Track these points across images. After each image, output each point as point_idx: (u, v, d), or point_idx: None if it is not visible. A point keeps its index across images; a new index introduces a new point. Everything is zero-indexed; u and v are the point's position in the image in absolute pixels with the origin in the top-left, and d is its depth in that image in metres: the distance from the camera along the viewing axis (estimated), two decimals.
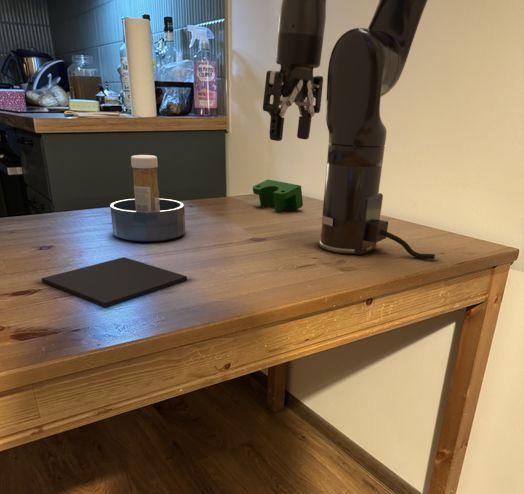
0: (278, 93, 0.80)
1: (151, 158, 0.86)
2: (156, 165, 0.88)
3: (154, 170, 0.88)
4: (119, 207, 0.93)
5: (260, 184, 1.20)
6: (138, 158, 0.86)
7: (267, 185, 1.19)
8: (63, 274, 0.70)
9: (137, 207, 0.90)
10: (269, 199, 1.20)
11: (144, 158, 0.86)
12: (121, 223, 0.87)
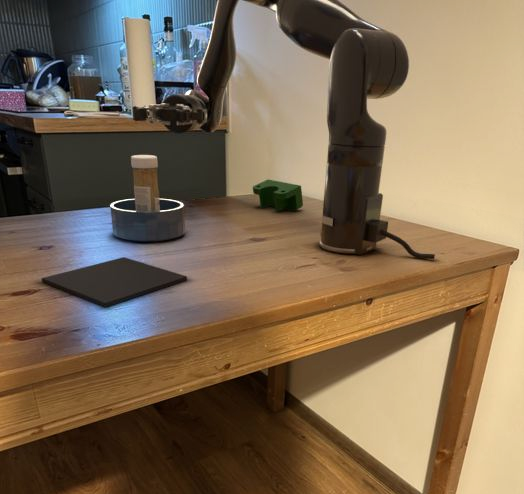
0: None
1: (151, 158, 0.86)
2: (156, 165, 0.88)
3: (154, 170, 0.88)
4: (119, 207, 0.93)
5: (260, 184, 1.20)
6: (138, 158, 0.86)
7: (267, 185, 1.19)
8: (63, 274, 0.70)
9: (137, 207, 0.90)
10: (269, 199, 1.20)
11: (144, 158, 0.86)
12: (121, 223, 0.87)
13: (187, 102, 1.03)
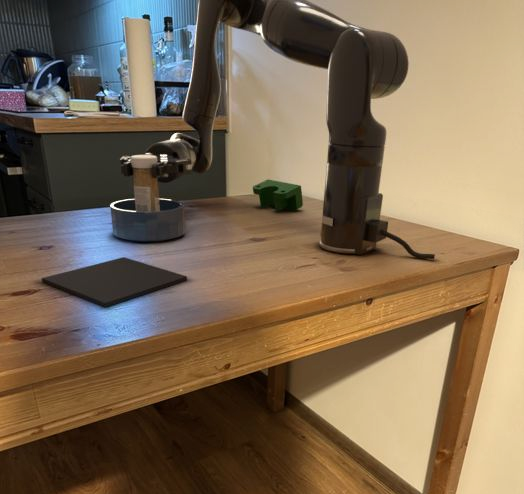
0: (123, 158, 0.93)
1: (151, 158, 0.86)
2: None
3: None
4: (119, 207, 0.93)
5: (260, 184, 1.20)
6: (138, 158, 0.86)
7: (267, 185, 1.19)
8: (63, 274, 0.70)
9: (137, 207, 0.90)
10: (269, 199, 1.20)
11: (144, 158, 0.86)
12: (121, 223, 0.87)
13: (173, 151, 0.96)
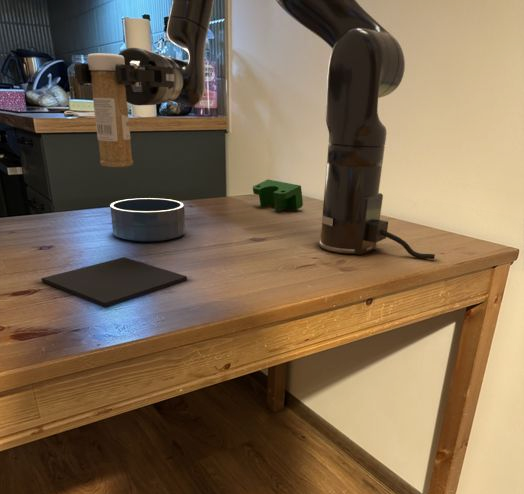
0: None
1: (115, 56, 0.62)
2: None
3: None
4: (119, 207, 0.93)
5: (260, 184, 1.20)
6: (96, 55, 0.62)
7: (267, 185, 1.19)
8: (63, 274, 0.70)
9: (98, 128, 0.66)
10: (269, 199, 1.20)
11: (105, 55, 0.62)
12: (121, 223, 0.87)
13: (149, 59, 0.72)
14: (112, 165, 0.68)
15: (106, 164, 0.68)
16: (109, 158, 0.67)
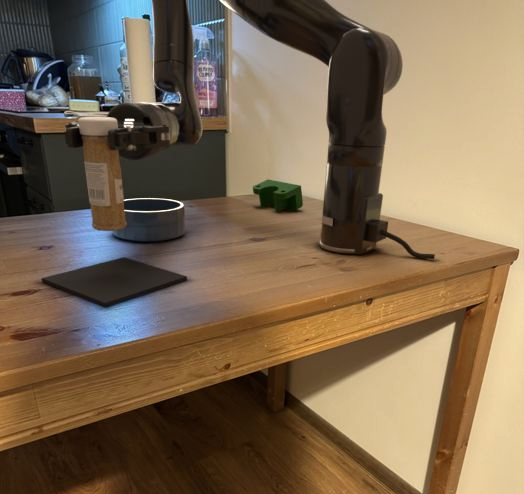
0: (72, 123, 0.65)
1: (107, 120, 0.59)
2: None
3: None
4: None
5: (260, 184, 1.20)
6: (88, 120, 0.59)
7: (267, 185, 1.19)
8: (63, 274, 0.70)
9: (90, 193, 0.63)
10: (269, 199, 1.20)
11: (96, 120, 0.59)
12: None
13: (144, 115, 0.69)
14: (105, 229, 0.65)
15: (98, 228, 0.65)
16: (102, 223, 0.64)
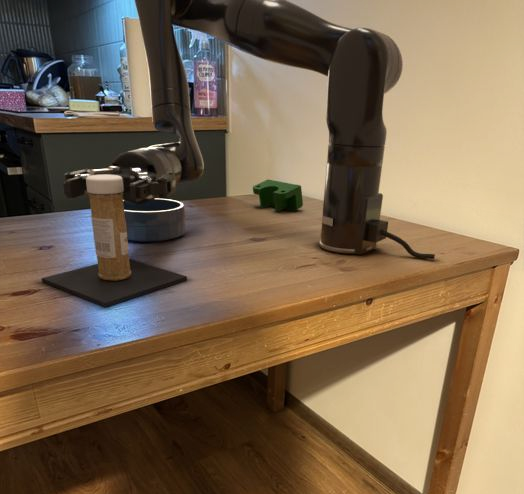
0: (76, 171, 0.69)
1: (113, 180, 0.62)
2: (120, 190, 0.64)
3: (118, 196, 0.64)
4: None
5: (260, 184, 1.20)
6: (95, 180, 0.62)
7: (267, 185, 1.19)
8: (63, 274, 0.70)
9: (96, 245, 0.66)
10: (269, 199, 1.20)
11: (103, 180, 0.62)
12: None
13: (147, 163, 0.71)
14: (110, 279, 0.68)
15: (104, 278, 0.68)
16: (107, 273, 0.67)
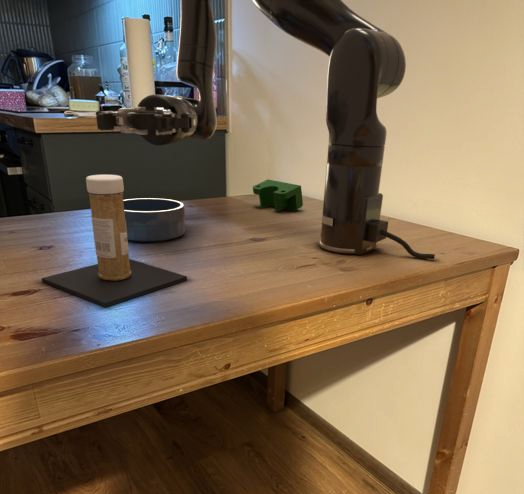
0: None
1: (113, 180, 0.62)
2: (121, 190, 0.64)
3: (118, 196, 0.64)
4: None
5: (260, 184, 1.20)
6: (95, 180, 0.62)
7: (267, 185, 1.19)
8: (63, 274, 0.70)
9: (96, 245, 0.66)
10: (269, 199, 1.20)
11: (103, 180, 0.62)
12: None
13: (169, 105, 0.79)
14: (110, 279, 0.68)
15: (104, 278, 0.68)
16: (107, 273, 0.67)
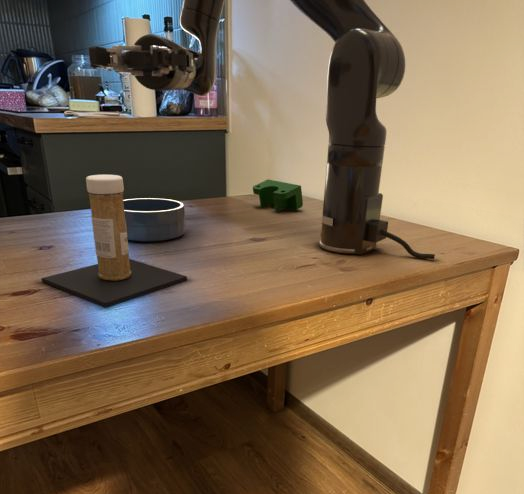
0: None
1: (113, 180, 0.62)
2: (121, 190, 0.64)
3: (118, 196, 0.64)
4: None
5: (260, 184, 1.20)
6: (95, 180, 0.62)
7: (267, 185, 1.19)
8: (63, 274, 0.70)
9: (96, 245, 0.66)
10: (269, 199, 1.20)
11: (103, 180, 0.62)
12: None
13: (166, 45, 0.75)
14: (110, 279, 0.68)
15: (104, 278, 0.68)
16: (107, 273, 0.67)
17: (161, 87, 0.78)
